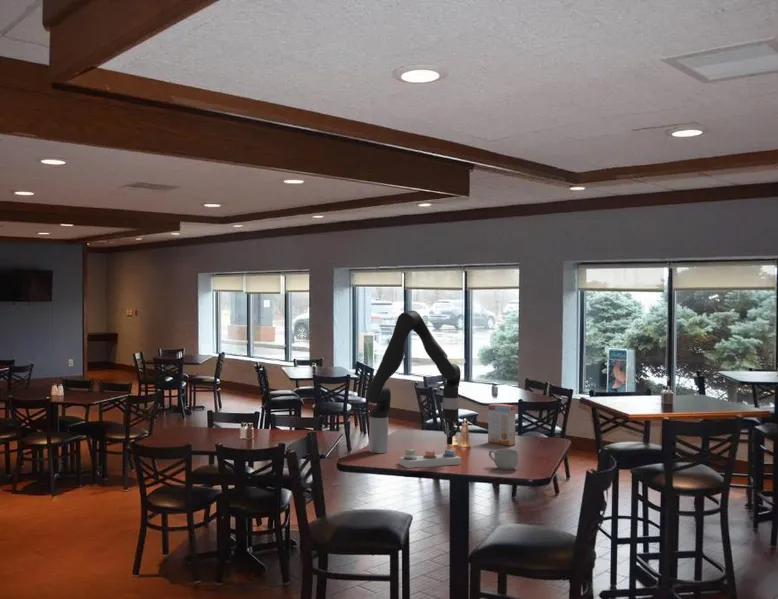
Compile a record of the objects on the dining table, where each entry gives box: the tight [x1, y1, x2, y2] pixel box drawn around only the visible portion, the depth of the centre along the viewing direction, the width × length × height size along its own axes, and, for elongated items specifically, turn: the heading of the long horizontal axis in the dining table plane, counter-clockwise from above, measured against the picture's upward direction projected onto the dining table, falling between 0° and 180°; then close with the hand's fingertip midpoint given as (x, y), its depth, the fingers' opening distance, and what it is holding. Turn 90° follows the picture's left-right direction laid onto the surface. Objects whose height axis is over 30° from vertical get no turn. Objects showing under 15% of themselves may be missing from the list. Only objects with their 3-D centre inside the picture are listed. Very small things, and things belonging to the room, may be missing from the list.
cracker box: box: [487, 402, 517, 447], centre depth 399 cm, size 14×6×21 cm, turn 44°
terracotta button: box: [424, 450, 436, 457], centre depth 344 cm, size 4×4×2 cm
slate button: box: [444, 449, 455, 456], centre depth 348 cm, size 4×4×2 cm
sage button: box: [404, 448, 416, 456], centre depth 340 cm, size 4×4×2 cm
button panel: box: [398, 453, 462, 469], centre depth 344 cm, size 10×27×4 cm, turn 112°
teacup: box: [488, 448, 519, 471], centre depth 338 cm, size 14×11×8 cm
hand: (449, 444), depth 348 cm, fingers closed
